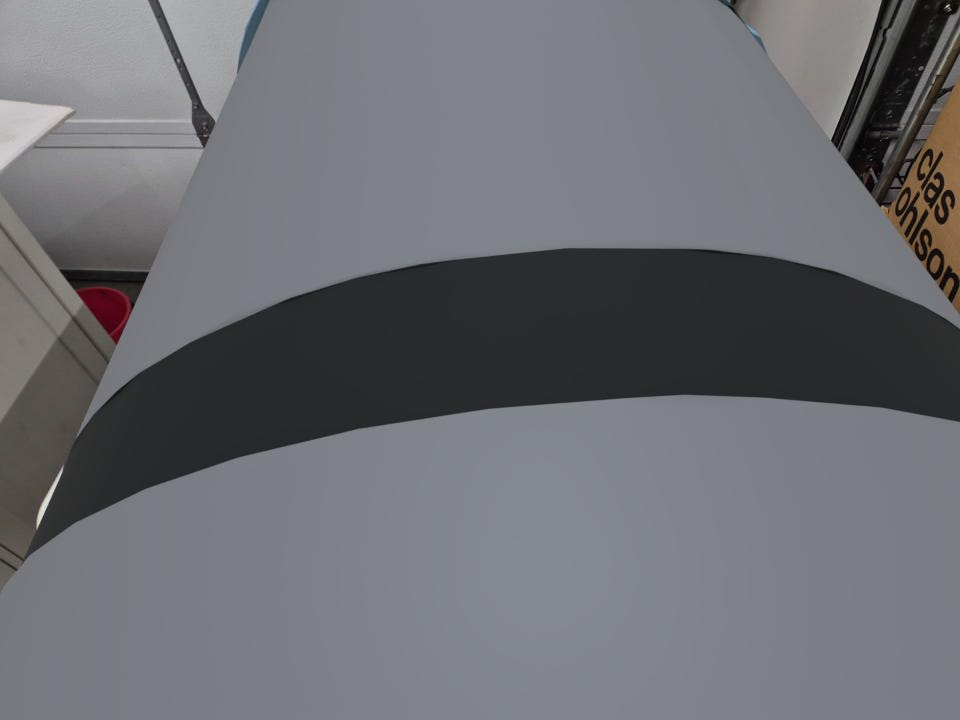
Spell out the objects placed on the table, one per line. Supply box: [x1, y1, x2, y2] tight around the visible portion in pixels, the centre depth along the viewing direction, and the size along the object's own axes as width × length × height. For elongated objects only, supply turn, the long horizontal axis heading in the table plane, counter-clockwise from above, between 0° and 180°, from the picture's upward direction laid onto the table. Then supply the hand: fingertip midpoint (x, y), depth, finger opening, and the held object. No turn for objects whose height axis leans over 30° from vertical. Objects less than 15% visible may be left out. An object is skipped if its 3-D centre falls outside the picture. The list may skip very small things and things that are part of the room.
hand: (442, 470), depth 62 cm, fingers open, 13 cm apart
